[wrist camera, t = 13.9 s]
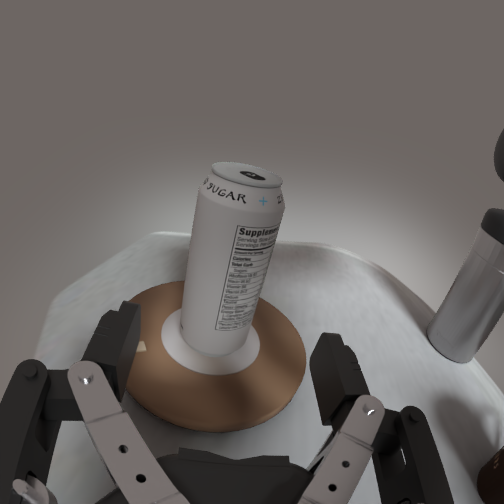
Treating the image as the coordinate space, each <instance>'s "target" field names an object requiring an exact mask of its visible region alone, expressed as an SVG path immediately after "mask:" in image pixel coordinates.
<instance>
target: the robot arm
mask: <svg viewBox="0 0 504 504" xmlns="http://www.w3.org/2000/svg"><path fill="white" fill-rule="evenodd" d="M494 165H495V170H496V172H497V174H498V176H499V177H500V178H501V180H502V181H504V129H503V131H502V133H501V135H500V136H499V139H498V141H497V144H496V147H495V152H494ZM503 313H504V210H502V209H495V208H492V209H489V210H488V211H487V212H486V214H485V216H484V218H483V220H482V223H481V226H480V228H479V230H478V233H477V235H476V237H475V239H474V242H473V244H472V246H471V248H470V251H469V253H468V255H467V257H466V259H465V261H464V263H463V265H462V267H461V269H460V271H459V273H458V275H457V277H456V279H455V281H454V283H453V285H452V286H451V288H450V290H449V292H448V294H447V295H446V297H445V299H444V301H443V303H442V304H441V306H440V308H439V309H438V311H437V313H436V314H435V316H434V318H433V319H432V321H431V323H430V324H429V326H428V328H427V335H428V338H429V340H430V342H431V343H432V344H433V346H434V347H435V348H436V349H437V350H438V351H439V352H440V353H441V354H443V355H444V356H446V357H447V358H449V359H451V360H453V361H455V362H459V363H467V362H469V361H471V360H472V358H473V357H474V356H475V354H476V353H477V352H478V350H479V349H480V347H481V346H482V345H483V343H484V342H485V340H486V339H487V338H488V336H489V334H490V333H491V332H492V330H493V329H494V327H495V325H496V324H497V322H498V321H499V319H500V318H501V316H502V314H503ZM140 333H141V305H140V304H138V303H133V302H129V301H123V302H122V304H121V306H120V309H119V311H114V310H109V311H108V312H107V313H106V314H104V315H103V316H102V317H101V319H100V321H99V323H98V327H97V328H96V330H95V332H94V334H93V336H92V338H91V340H90V342H89V344H88V347H87V349H86V351H85V353H84V355H83V358H82V359H81V361H79V362H77V363H75V364H73V365H72V366H71V367H70V369H66V370H47V368H46V366H45V365H44V364H43V363H42V362H40V361H38V360H35V359H29V360H26V361H23V362H21V363H20V364H19V365H18V366H17V368H16V370H15V372H14V374H13V376H12V378H11V380H10V383H9V385H8V387H7V389H6V391H5V394H4V396H3V398H2V401H1V403H0V504H58V502H57V499H56V497H55V496H54V494H53V493H52V492H51V491H50V490H49V489H48V488H47V487H46V483H47V478H48V473H49V469H50V464H51V460H52V456H53V452H54V448H55V444H56V440H57V436H58V433H59V429H60V426H61V422H62V421H83V422H84V424H85V427H86V429H87V431H88V433H89V435H90V437H91V440H92V442H93V444H94V446H95V448H96V450H97V452H98V454H99V456H100V458H101V460H102V462H103V464H104V466H105V468H106V470H107V472H108V473H109V475H110V477H111V479H112V481H113V482H114V484H115V486H116V487H117V488H116V489H114V490H113V491H112V492H110V493H109V494H108V495H106V496H105V497H103V498H102V499H101V500H99V501H98V502H97V503H95V504H347V503H348V502H349V500H350V498H351V496H352V494H353V492H354V490H355V488H356V486H357V484H358V482H359V480H360V478H361V476H362V474H363V472H364V470H365V468H366V466H367V464H368V462H369V460H370V457H371V455H372V460H373V464H374V469H375V473H376V478H377V483H378V488H379V493H380V498H381V503H382V504H454V501H453V497H452V494H451V491H450V487H449V484H448V481H447V477H446V474H445V471H444V468H443V465H442V462H441V459H440V456H439V453H438V450H437V447H436V444H435V441H434V438H433V436H432V433H431V430H430V427H429V425H428V422H427V419H426V417H425V415H424V413H423V412H422V411H421V410H420V409H418V408H417V407H414V406H406V407H404V408H403V409H402V410H401V411H400V412H397V411H393V410H389V409H385V408H384V406H383V404H382V403H381V401H380V400H378V399H377V398H376V397H374V396H371V395H370V392H369V390H368V387H367V384H366V381H365V379H364V376H363V373H362V371H361V368H360V365H359V364H358V360H357V358H356V355H355V353H354V352H353V351H352V350H351V348H350V347H349V346H347V345H344V343H343V340H342V338H341V335H340V334H335V333H325V332H324V333H322V334H321V336H320V338H319V340H318V342H317V344H316V346H315V349H314V351H313V353H312V355H311V357H310V364H309V365H310V371H311V376H312V380H313V385H314V389H315V393H316V398H317V402H318V407H319V411H320V416H321V420H322V425H323V426H328V425H332V429H333V430H332V431H331V433H330V434H329V436H328V437H327V439H326V441H325V442H324V444H323V445H322V447H321V448H320V450H319V452H318V453H317V455H316V456H315V458H314V459H313V461H312V462H311V463H310V465H309V466H308V467H307V468H306V469H305V468H303V467H301V466H298V465H296V464H293V463H290V462H289V456H265V455H263V456H258V457H252V458H246V459H240V460H233V459H229V458H226V457H223V456H220V455H217V454H213V453H210V452H207V451H200V450H192V449H185V448H179V454H172V455H167V456H163V457H160V458H157V459H155V458H154V456H153V454H152V453H151V451H150V450H149V448H148V447H147V445H146V443H145V442H144V440H143V439H142V437H141V435H140V434H139V432H138V430H137V429H136V427H135V425H134V424H133V422H132V420H131V418H130V417H129V415H128V414H127V412H126V411H123V410H122V408H121V406H120V405H119V403H118V402H121V401H122V397H123V394H124V390H125V387H126V383H127V380H128V377H129V373H130V370H131V367H132V363H133V360H134V357H135V354H136V350H137V347H138V344H139V340H140ZM401 449H402V450H403V453H404V457H405V461H406V465H405V462H404V458H403V454H402V451H401Z"/></svg>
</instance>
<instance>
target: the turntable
mask: <svg viewBox="0 0 504 504" xmlns="http://www.w3.org/2000/svg"><path fill="white" fill-rule="evenodd" d="M184 284H185V281H177V282H170V283H165V284H161V285H158V286H155V287H152V288H150V289H147V290H145V291H143V292H141V293H140V294H138V295H136V296H135V297H133V298H132V299H131V300H130V301H129V302H133V303H138V304H140V305H141V333H140V340H139V344H138V347H137V350H136V354H135V357H134V360H133V363H132V367H131V370H130V373H129V377H128V380H127V383H126V387H125V388H126V390H127V391H128V392H129V394H130V395H131V396H132V397H133V398H134V399H135V400H136V401H137V402H138V403H139V404H140V405H142V406H143V407H144V408H145V409H147V410H148V411H149V412H151V413H153V414H154V415H156V416H158V417H159V418H161V419H163V420H165V421H168V422H170V423H172V424H175V425H177V426H181V427H184V428H188V429H192V430H198V431H204V432H231V431H239V430H243V429H247V428H251V427H254V426H256V425H259V424H261V423H264V422H266V421H267V420H269V419H271V418H272V417H274V416H276V415H277V414H278V413H279V412H280V411H282V410H283V409H284V408H285V407H286V406H287V404H288V403H289V402H290V401H291V399H292V398H293V396H294V394H295V393H296V391H297V389H298V387H299V386H300V384H301V382H302V379H303V376H304V374H305V368H306V353H305V348H304V345H303V342H302V339H301V337H300V335H299V333H298V332H297V330H296V328H295V327H294V326H293V324H292V323H291V322H290V321H289V320H288V319H287V317H286V316H285V315H284V314H282V313H281V312H280V311H279V310H278V309H277V308H275V307H274V306H272V305H271V304H270V303H268V302H266V301H265V300H263V299H261V298H260V297H259V299H258V303H257V306H256V310H255V313H254V316H253V320H252V323H251V326H250V330H249V333H248V336H247V339H246V342H245V344H244V345H243V346H242V347H241V348H240V349H238V350H237V351H234V352H233V353H231V354H229V355H227V356H223V357H209V356H205V355H202V354H199V353H198V352H196V351H194V350H193V349H192V348H191V347H190V346H189V345H188V344H187V342H186V341H185V340H184V338H183V337H182V335H181V333H180V318H181V309H182V300H183V292H184Z"/></svg>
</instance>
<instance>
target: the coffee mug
mask: <svg viewBox="0 0 504 504" xmlns="http://www.w3.org/2000/svg"><path fill="white" fill-rule="evenodd" d="M477 486H478V492H479V495H480V497H481V499H482V500H483V502H484V503H485V504H504V446H503V447H502V448H501V449H500V450H499V451H498V452H497V453H496V454H495V455H494V456H493V457H492V458H491V459H490V460H489V461H488V462H487V463H486V464H485V465H484V466H483V467H482V468H481V470H480V472H479V474H478V479H477Z"/></svg>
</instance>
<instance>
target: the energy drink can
mask: <svg viewBox="0 0 504 504" xmlns="http://www.w3.org/2000/svg"><path fill="white" fill-rule="evenodd" d="M282 182H283V181H282V178H281V177H279V176H278V175H276V174H274V173H272V172H270V171H268V170H265V169H262V168H259V167H255V166H251V165H247V164H241V163H233V162H219V163H215V164H213V165H212V172H211V173H210V175H209V176H208V177H207V178H206V179H205V181H204V182H203V183H202V184H201V186H200V187H199V191H198V197H197V204H196V209H195V215H194V221H193V228H192V234H191V241H190V248H189V255H188V262H187V269H186V277H185V284H184V292H183V300H182V309H181V318H180V333H181V335H182V337H183V338H184V340H185V341H186V342H187V344H188V345H189V346H190V347H191V348H192V349H193V350H194V351H196V352H198V353H199V354H202V355H205V356H209V357H223V356H227V355H229V354H231V353H233V352H234V351H237V350H238V349H240V348H241V347H242V346H243V345H244V344H245V342H246V339H247V336H248V333H249V330H250V326H251V323H252V320H253V316H254V313H255V310H256V306H257V303H258V299H259V296H260V293H261V289H262V286H263V282H264V279H265V276H266V272H267V269H268V265H269V262H270V258H271V255H272V251H273V248H274V244H275V241H276V237H277V234H278V230H279V226H280V223H281V220H282V216H283V213H284V209H285V203H284V199H283V195H282V191H281V185H282Z"/></svg>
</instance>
